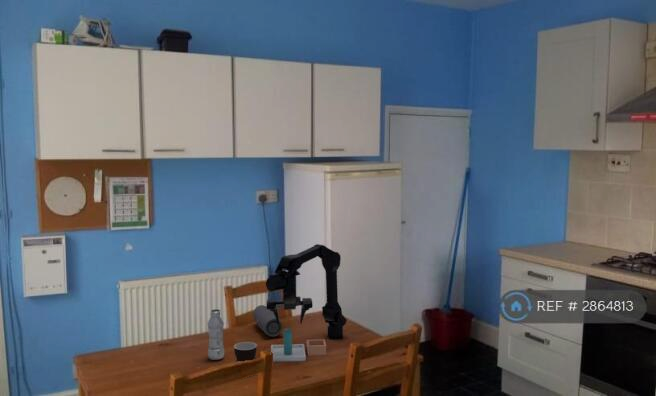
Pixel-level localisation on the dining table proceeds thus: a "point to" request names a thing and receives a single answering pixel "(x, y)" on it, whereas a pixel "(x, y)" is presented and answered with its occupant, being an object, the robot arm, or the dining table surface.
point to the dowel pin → (287, 341)
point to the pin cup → (316, 347)
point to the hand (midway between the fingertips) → (289, 323)
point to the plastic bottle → (215, 336)
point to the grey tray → (296, 355)
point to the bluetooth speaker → (267, 321)
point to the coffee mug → (245, 351)
